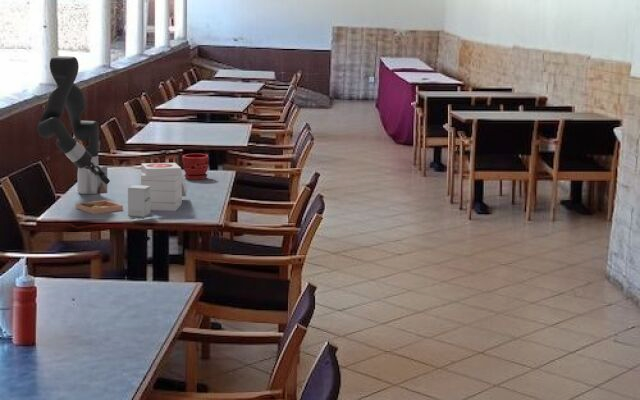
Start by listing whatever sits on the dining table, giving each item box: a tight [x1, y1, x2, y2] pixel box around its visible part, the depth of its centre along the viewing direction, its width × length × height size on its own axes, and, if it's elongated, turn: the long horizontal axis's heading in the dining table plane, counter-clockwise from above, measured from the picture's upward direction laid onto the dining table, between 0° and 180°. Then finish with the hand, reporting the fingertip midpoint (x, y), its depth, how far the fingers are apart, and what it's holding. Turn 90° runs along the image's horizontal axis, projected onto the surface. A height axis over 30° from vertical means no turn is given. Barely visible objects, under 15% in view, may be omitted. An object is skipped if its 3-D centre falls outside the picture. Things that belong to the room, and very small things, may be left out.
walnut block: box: [80, 201, 94, 208], centre depth 423 cm, size 4×4×2 cm
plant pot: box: [181, 153, 210, 181], centre depth 510 cm, size 13×13×12 cm
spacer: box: [96, 165, 108, 195], centre depth 425 cm, size 5×5×11 cm
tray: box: [75, 199, 124, 215], centre depth 424 cm, size 14×14×3 cm
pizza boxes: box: [140, 162, 188, 212], centre depth 442 cm, size 19×30×18 cm, turn 177°
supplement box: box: [127, 184, 151, 220], centre depth 415 cm, size 7×7×13 cm
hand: (105, 181), depth 426 cm, fingers closed on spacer, 4 cm apart
